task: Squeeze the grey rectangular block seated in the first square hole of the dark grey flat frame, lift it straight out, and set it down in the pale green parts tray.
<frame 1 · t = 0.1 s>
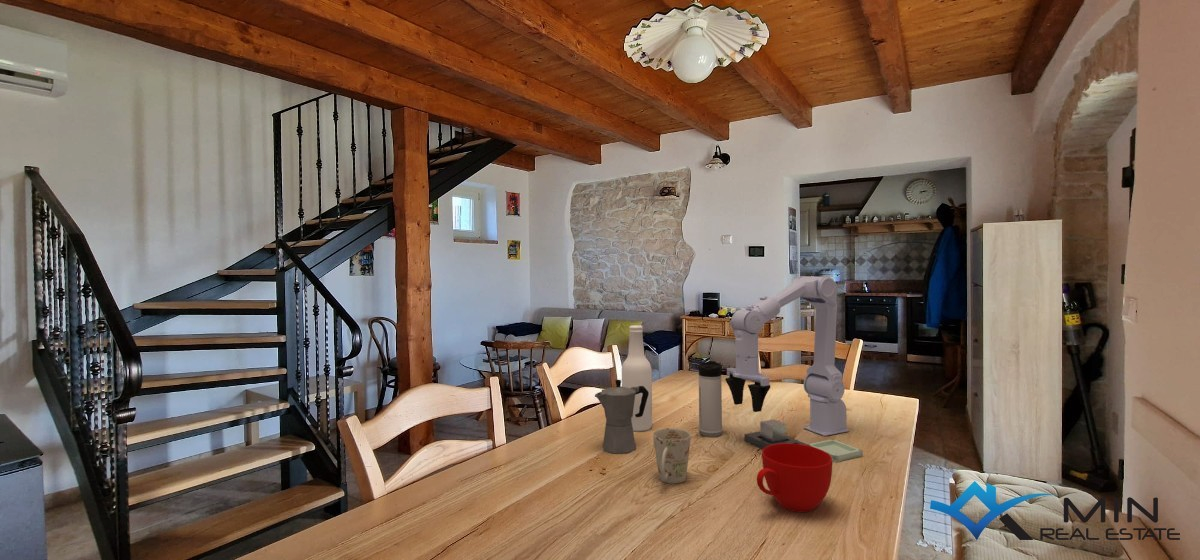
hand: (747, 407, 135), 10 cm above the table, tool pointing down, fingers open, 7 cm apart
alcohol: (637, 428, 152), on the table
dark grey flat frame: (784, 450, 131), on the table
grey rectangular block: (773, 445, 135), resting in dark grey flat frame
tray: (834, 453, 128), on the table
ceramic cup: (789, 507, 101), on the table
coffeepot: (623, 448, 135), on the table
travel mug: (710, 434, 145), on the table
mug: (670, 482, 113), on the table
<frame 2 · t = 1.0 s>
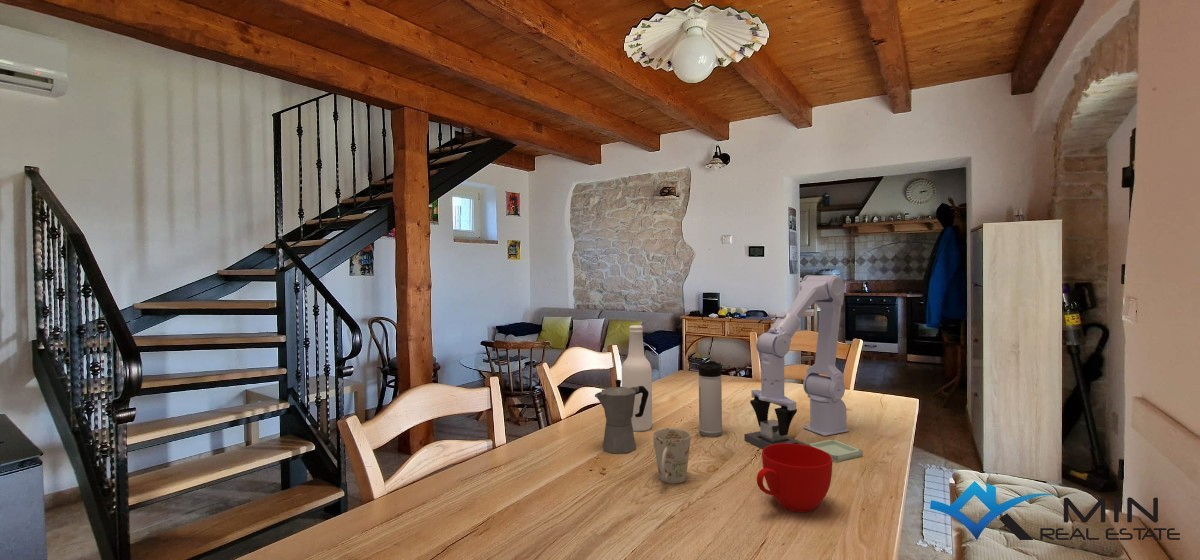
hand: (772, 430, 135), 4 cm above the table, tool pointing down, fingers open, 7 cm apart
nothing on the table moved.
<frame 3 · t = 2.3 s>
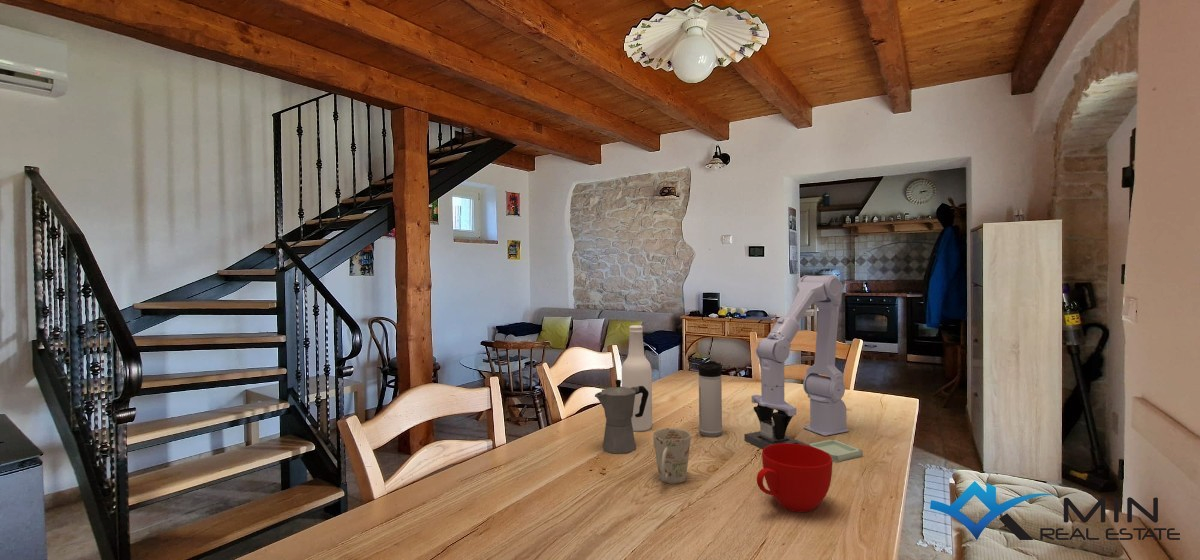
hand: (773, 436, 135), 2 cm above the table, tool pointing down, fingers closed on grey rectangular block, 4 cm apart
grey rectangular block: (773, 445, 135), resting in dark grey flat frame, touching gripper
everything else where it was.
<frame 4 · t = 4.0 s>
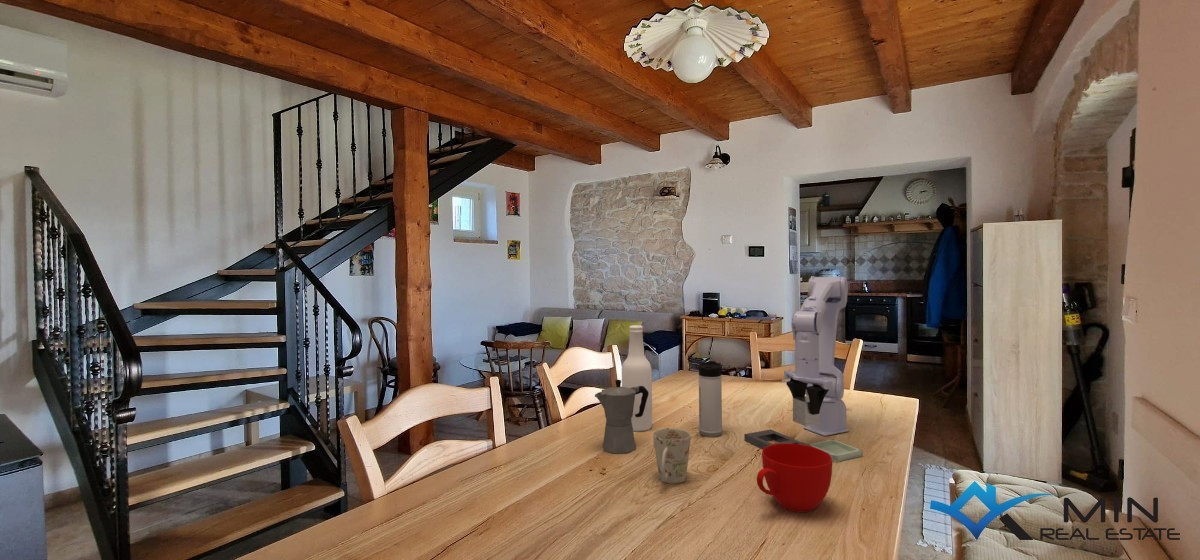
hand: (807, 411, 131), 10 cm above the table, tool pointing down, fingers closed on grey rectangular block, 5 cm apart
grey rectangular block: (806, 422, 131), point 7 cm above the table, touching gripper
everything else where it was.
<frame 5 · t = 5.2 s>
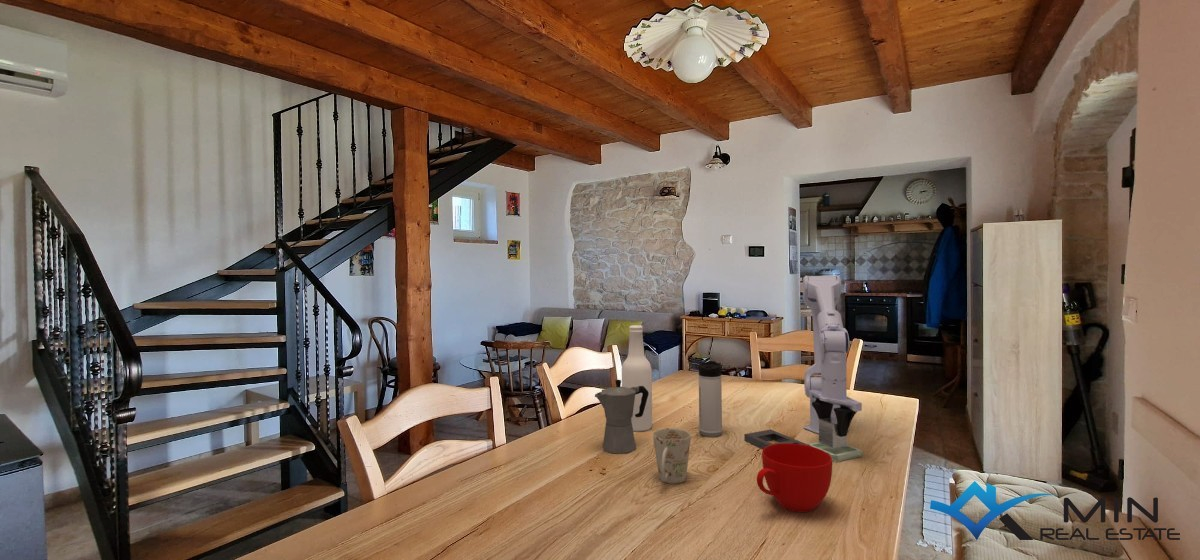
hand: (834, 432, 128), 5 cm above the table, tool pointing down, fingers closed on grey rectangular block, 5 cm apart
grey rectangular block: (832, 444, 128), point 2 cm above the table, touching gripper
everything else where it was.
when the fingers open (4 cm above the table, at t = 6.2 s): grey rectangular block drops 1 cm, resting on tray.
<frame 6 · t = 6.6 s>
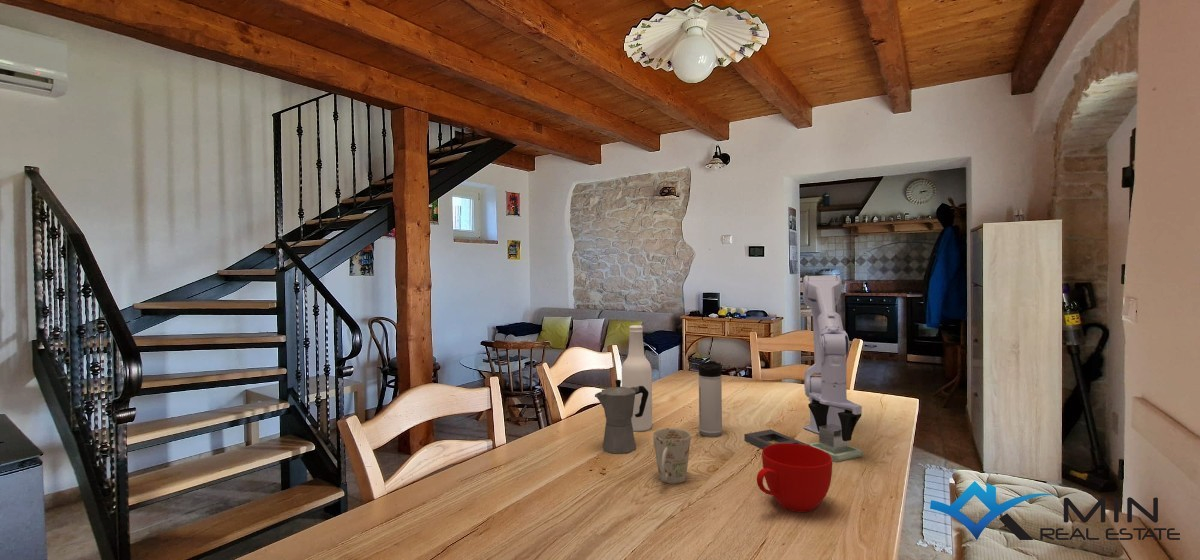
hand: (834, 435, 128), 4 cm above the table, tool pointing down, fingers open, 7 cm apart
grey rectangular block: (833, 451, 128), resting on tray
everything else where it was.
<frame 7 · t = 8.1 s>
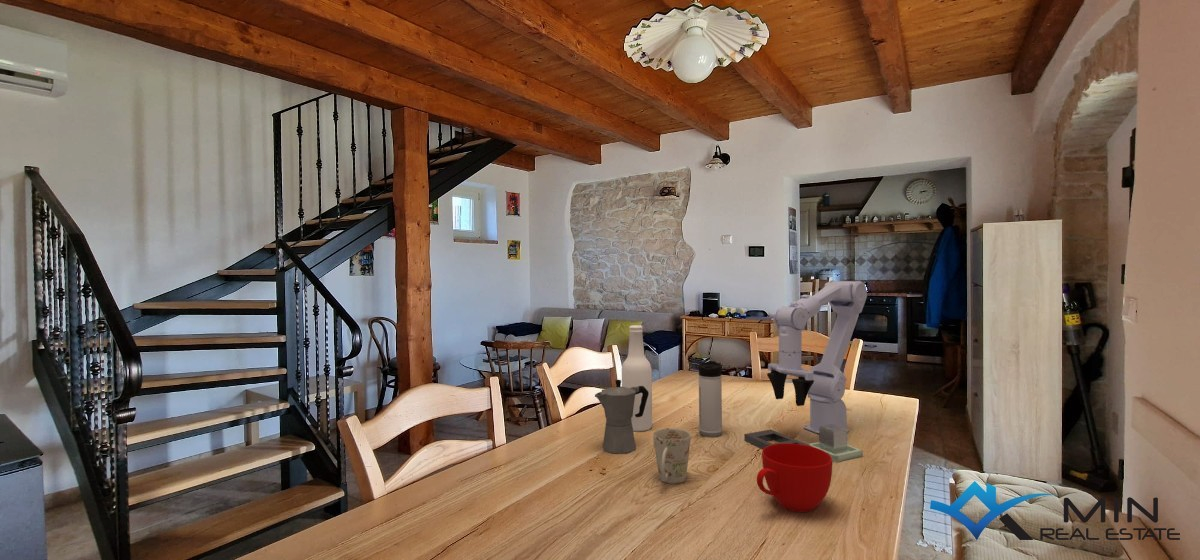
hand: (789, 402, 138), 10 cm above the table, tool pointing down, fingers open, 7 cm apart
nothing on the table moved.
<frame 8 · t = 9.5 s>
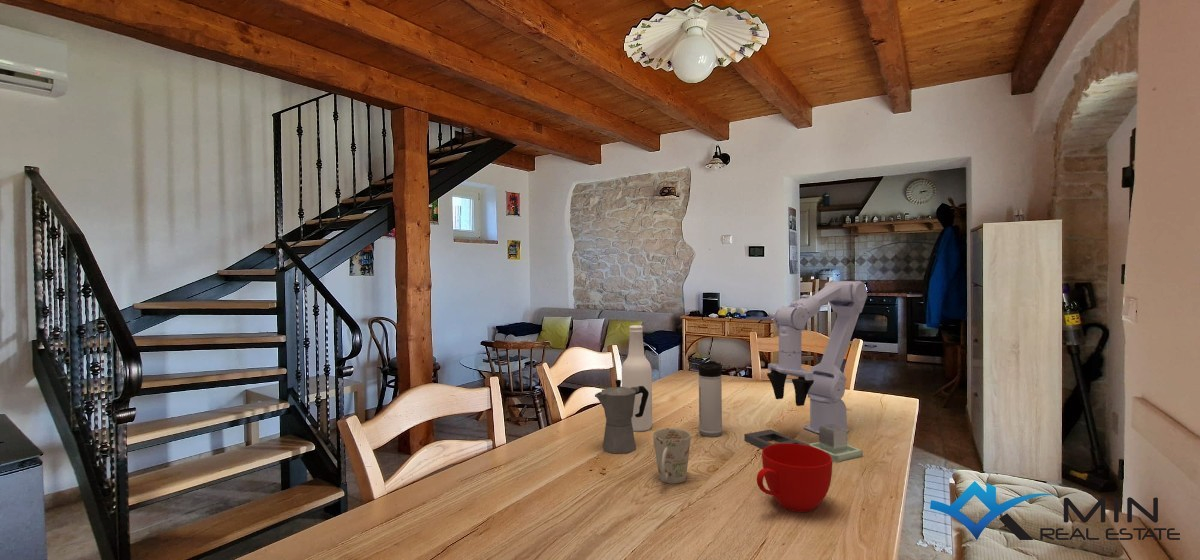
hand: (789, 402, 138), 10 cm above the table, tool pointing down, fingers open, 7 cm apart
nothing on the table moved.
at the end: grey rectangular block 0.3 cm off-centre on the tray, point 0.5 cm above the tray's base; grey rectangular block tilted 0°; the gripper is holding nothing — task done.
